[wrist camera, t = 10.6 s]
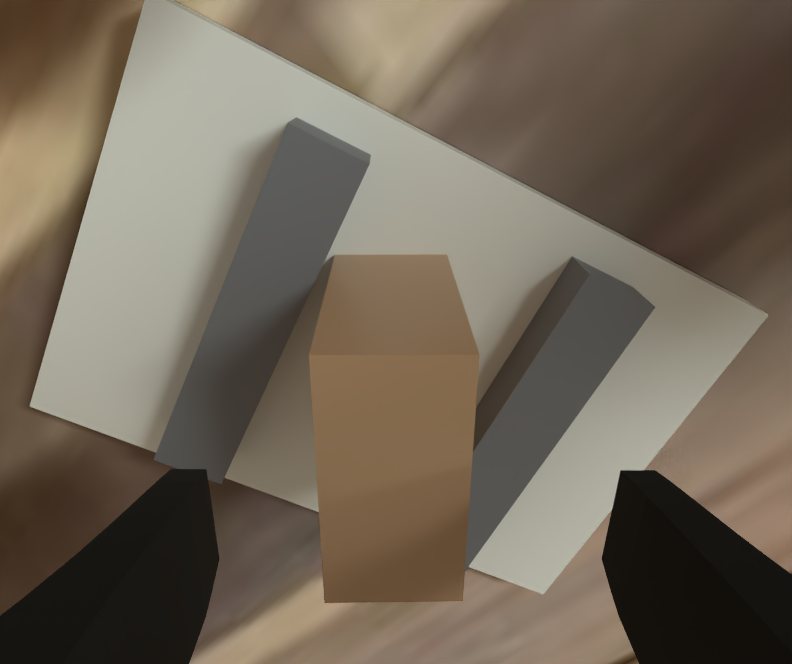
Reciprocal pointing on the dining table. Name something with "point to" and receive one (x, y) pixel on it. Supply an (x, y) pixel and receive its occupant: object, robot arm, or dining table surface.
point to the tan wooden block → (393, 429)
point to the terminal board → (307, 280)
